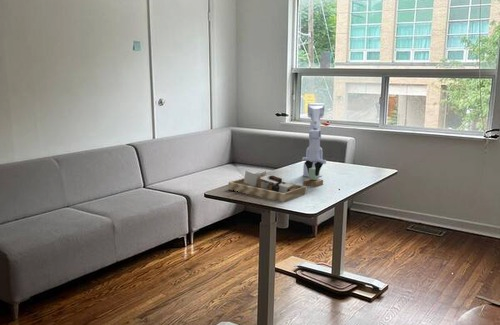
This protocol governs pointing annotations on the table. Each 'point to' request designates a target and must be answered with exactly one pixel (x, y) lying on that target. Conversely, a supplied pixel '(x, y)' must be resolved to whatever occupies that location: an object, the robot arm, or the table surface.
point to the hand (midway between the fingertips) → (313, 174)
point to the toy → (267, 182)
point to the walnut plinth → (313, 182)
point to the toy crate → (267, 191)
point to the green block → (312, 173)
